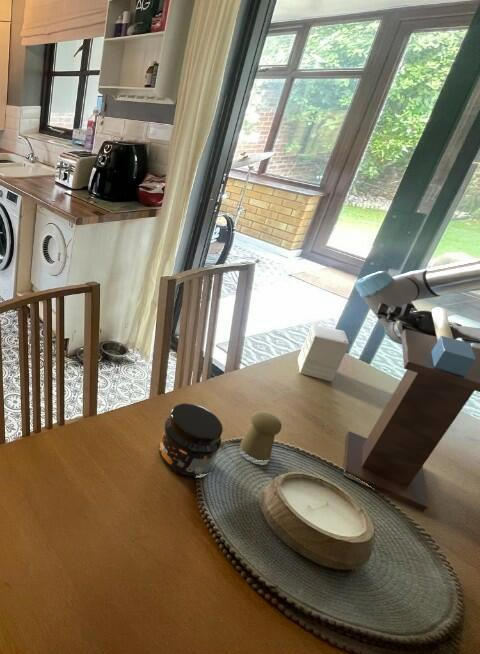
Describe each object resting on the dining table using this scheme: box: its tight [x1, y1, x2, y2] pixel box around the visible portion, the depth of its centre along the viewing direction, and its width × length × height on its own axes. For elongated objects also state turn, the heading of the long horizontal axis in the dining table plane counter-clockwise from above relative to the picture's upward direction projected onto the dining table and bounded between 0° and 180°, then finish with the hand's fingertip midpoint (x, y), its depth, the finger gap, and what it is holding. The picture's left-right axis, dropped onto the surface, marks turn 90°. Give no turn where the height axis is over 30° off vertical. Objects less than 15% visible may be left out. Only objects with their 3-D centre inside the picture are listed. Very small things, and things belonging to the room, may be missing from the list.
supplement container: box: [158, 403, 224, 480], centre depth 87 cm, size 10×10×12 cm
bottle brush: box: [431, 306, 476, 376], centre depth 77 cm, size 4×25×4 cm, turn 138°
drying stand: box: [342, 329, 480, 513], centre depth 80 cm, size 12×14×30 cm
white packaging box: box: [297, 323, 350, 383], centre depth 113 cm, size 7×7×13 cm
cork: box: [239, 410, 282, 461], centre depth 88 cm, size 6×6×11 cm
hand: (453, 321), depth 79 cm, fingers open, 12 cm apart
